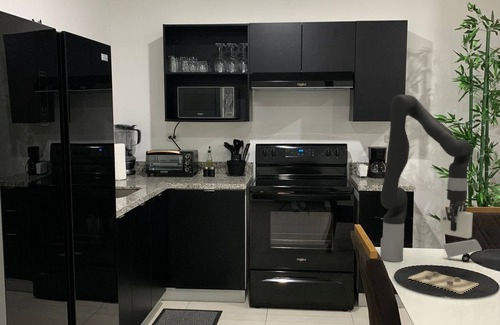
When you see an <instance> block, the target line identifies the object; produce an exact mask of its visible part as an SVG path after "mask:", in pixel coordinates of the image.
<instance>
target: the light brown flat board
mask: <svg viewBox="0 0 500 325" xmlns="http://www.w3.org/2000/svg"><path fill="white" fill-rule="evenodd" d="M408 279H412V280H416V281H419V282H422V283H426V284H429V285H432V286H431V287H433V286H436V287H435V288H437V287H439V288H438V289H440V288H443V289H442V290H444V289H446V290H445V291H448V290H449V291H448V292H451V291H453V292H452V293H455V292H456V294H458V295H459V294H460V295H462V294H465V293H467V292H469V291H471V290H473V289H472V288H474V287H476V286H478V285H479V284H480V283H478V282H473V281H469V280H466V279H462V278H461V277H457V276H455V277H454V276H449V275H445V274H441V273H440V272H437V271H429V270H424V271H422V272H419V273H416V274H414V275H410V276H408V277H407V280H408ZM422 283H421V284H422ZM426 284H425V285H426ZM429 285H428V286H429ZM478 287H479V286H478ZM476 288H477V287H476ZM470 289H471V290H470ZM474 289H475V288H474ZM468 290H469V291H468ZM466 291H467V292H466ZM464 292H465V293H464Z"/></svg>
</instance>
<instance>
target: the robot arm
mask: <svg viewBox="0 0 500 325" xmlns="http://www.w3.org/2000/svg"><path fill="white" fill-rule="evenodd" d="M407 116H409V117H411V118H412V119H414V120H415V121H417V122H418V123H419V124H420V125H421V127H422V129H423V130H424V131H425V133H426V134H427V135H428V136H429V137H430V138H432V140H434V141H435V142H437V143H438V144H439V145H440V147H441V148H442V149H443V151H444V152H445V153H446V154H447V155H448V156H450V157H452V158H453V161H452V162H451V163H450V164H449V166H448V176H447V177H448V179H447V188H446V189H447V191H446V199H447V200H448V201H450V202H449V206H448V207H445V209H446V214H447V219H448V221H451V229H450V230H451V231H456V228H457V217H458V215H459V211H461V212H462V211H463V212H467V208H468V206H467V204H464V203H465V202H466V201H467V200H468V199H467V198H468V167H469V164H470V160H471V157H472V144H471V143H470V142H469V141H468V140H466V139H457V138H455V137H454V135H453V132H452V130H451V129H450V128H448V127H447V126H446V125H444V124H443V123H442V122H440V121H439V119H437V118H436V117H435V116H433V115H432V114H431V113H430V112H429V111H428V110H427V109H426V108H425V107H424V106H423V105H422V103H421V102H420V101H419V100H418V99H417V98H416V97H415V96H414V95H411V94H397V95H395V96H394V97H393V98H392V100H391V103H390V125H389V126H390V127H389V136H388V138H389V139H388V145H387V151H386V153H387V154H386V155H387V156H386V162H385V163H386V165H385V171H384V172H385V173H384V177H383V178H384V179H383V184H382V187H381V192H380V203H381V205H382V206H383V207H384V208H385V209H388V210H387V212H386V213H385V214H384V215H383V216H382V217H383V220H382V222H383V223H382V227H383V228H382V237H381V238H380V255H379V256H380V257H381V258H380V259H382V260H383V261H387V262H390V263H391V262H392V263H398V262H399V263H400V262H403V260H404V243H405V242H404V238H405V219H406V217H407V210H408V209H407V208H408V195H407V192H406V191H405V189H404V188H402V187H399V182H400V178H401V175H403V172H404V170H405V168H406V166H407V164H408V161H409V157H410V155H409V154H410V141H409V137H408V134H407V131H406V122H407ZM454 216H455V218H454Z"/></svg>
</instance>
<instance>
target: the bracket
mask: <svg viewBox="0 0 500 325" xmlns="http://www.w3.org/2000/svg"><path fill="white" fill-rule="evenodd" d="M443 249H444V251H445V254H446V256H447V258H453V257H457V256H461V255H462V256H461V261H462V262H463V263H468V262H470V260H471V255H470V253H475V252H479V251H482V249H483V248H482V246H481V244H480V243H479V241H478V240H477V239H474V238H472V239H466V240H461V241H455V242H449V243H444V244H443Z"/></svg>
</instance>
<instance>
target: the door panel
mask: <svg viewBox="0 0 500 325" xmlns="http://www.w3.org/2000/svg"><path fill="white" fill-rule="evenodd" d="M473 214H474V213H473V212H469V211H466V212H463V211H462V212H461V211H459V215H458V217H457V228H456V231H451V230H450V229H451V221H448V219H447V214H446V208H442V209H440V220H439V221H440V222H439V234H442V235H448V236H453V237H458V238H464V239H470V238H472V236H473V216H474V215H473ZM454 218H455V216H454Z"/></svg>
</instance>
